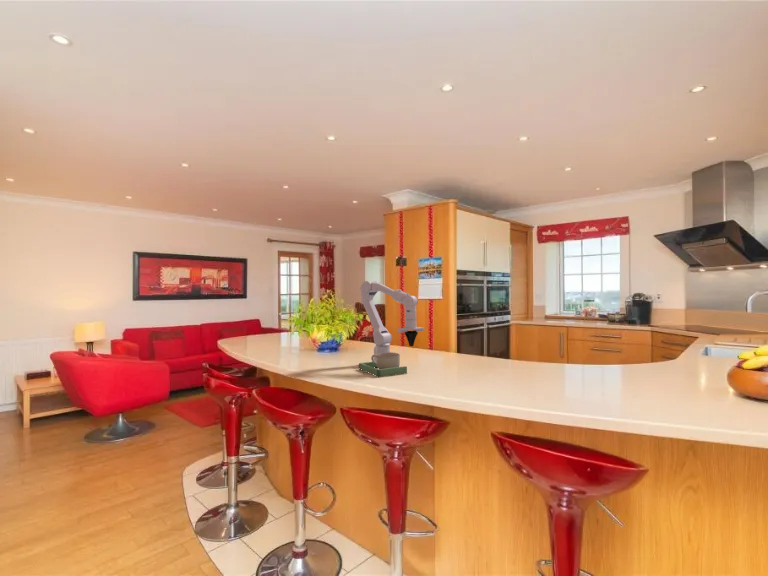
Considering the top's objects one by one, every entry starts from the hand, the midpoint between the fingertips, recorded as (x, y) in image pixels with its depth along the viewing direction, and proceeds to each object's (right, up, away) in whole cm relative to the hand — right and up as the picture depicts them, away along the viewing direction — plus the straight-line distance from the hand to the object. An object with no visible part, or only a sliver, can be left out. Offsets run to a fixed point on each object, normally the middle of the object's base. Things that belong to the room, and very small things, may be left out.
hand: (411, 346), depth 195 cm
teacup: (-13, -10, -15) cm, 22 cm away
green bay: (-15, -9, -16) cm, 23 cm away
